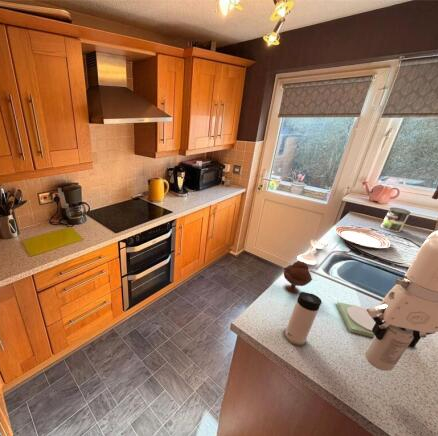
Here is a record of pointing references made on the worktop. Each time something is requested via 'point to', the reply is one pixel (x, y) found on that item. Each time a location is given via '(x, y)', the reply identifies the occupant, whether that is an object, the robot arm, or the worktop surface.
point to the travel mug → (302, 318)
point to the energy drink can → (389, 347)
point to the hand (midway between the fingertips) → (392, 338)
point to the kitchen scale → (357, 319)
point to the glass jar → (395, 219)
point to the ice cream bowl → (297, 276)
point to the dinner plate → (362, 237)
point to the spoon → (311, 254)
